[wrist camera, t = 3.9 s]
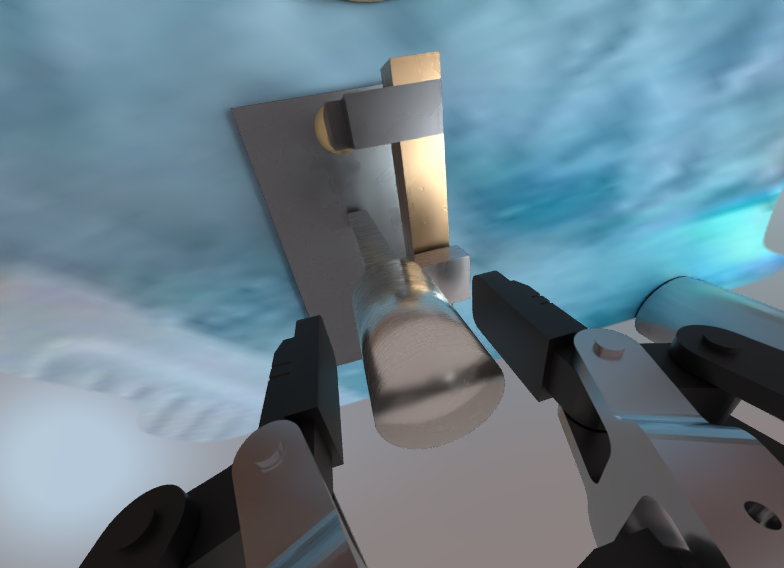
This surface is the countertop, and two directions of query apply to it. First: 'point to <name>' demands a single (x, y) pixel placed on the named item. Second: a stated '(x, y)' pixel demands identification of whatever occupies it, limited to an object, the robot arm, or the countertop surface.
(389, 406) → the grey elongated rounded piece
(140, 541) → the robot arm
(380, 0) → the burger
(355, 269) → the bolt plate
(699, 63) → the countertop surface
